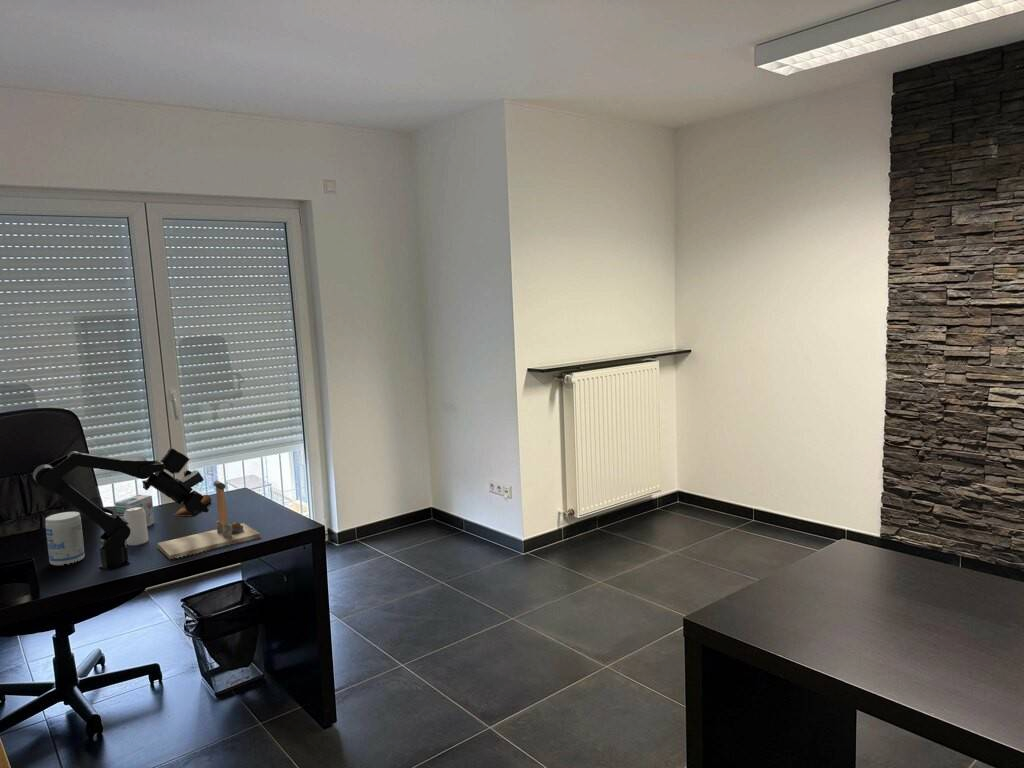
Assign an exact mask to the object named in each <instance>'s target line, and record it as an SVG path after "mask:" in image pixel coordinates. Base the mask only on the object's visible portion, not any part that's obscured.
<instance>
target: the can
mask: <svg viewBox="0 0 1024 768" xmlns="http://www.w3.org/2000/svg"><path fill="white" fill-rule="evenodd" d="M124 519H125V520H126V521H127V522H128V523H129V524H127V526H128V527H129V528H130V535H129V537H128V538H127V539H126V540H125V541H126V544H127V545H128V546H129V547H134V546H135V547H136V546H141V545H144V544H146V543H147V542H148V541H149V532H148V531H149V530H148V527H147V522H146V513H145V510H144V508H143V506H133V507H128V508H126V509H125V512H124Z"/></svg>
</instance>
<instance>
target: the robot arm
mask: <svg viewBox="0 0 1024 768" xmlns="http://www.w3.org/2000/svg"><path fill="white" fill-rule="evenodd" d="M189 461H190V458H189V457H188V456H187V455H185V454H183V453H182V452H179V451H178V450H176V449H175V448H173V447H170V448H169V449H168V451H167V452H166V454H165V455H164V456H163V457H162V458H161V459H160V460H157V459H156V460H155V459H154V460H148V459H146V458H144V457H127V458H117V457H111V456H103V455H97V454H90V453H84V452H79V451H74V450H73V451H70V452H69V453H68V454H66V455H64V456H62V457H60V458H56V459H55V460H53V461H51V462H49V463H48V464H40V465H39V466H37V467H36V468H35V469H34V470H33V472H32V473H33V474H32V477H33V479H34V481H35V482H36V484H37V485H38V486H39V487H40V488H43V489H45V490H47V491H49V492H51V493H54V494H56V495H58V496H60V497H62V498H63V499H64V500H65V501H66V502H68V503H70V504H71V505H72V506H73V507H74V508H75V509H78V510H79V511H80V512H81V513H83V514H84V515H86V517H88V518H90V519H91V520H92V521H93V522H95V524H97V525H98V526H99V528H100V529H101V530H103V533H102V535H100V536H99V538H98V542H99V543H100V545H101V546H102V547H100V548H99V554H100V555H99V557H100V564H98V568H101V569H104V570H108V571H111V570H115V569H119V568H120V567H123V566H127V565H129V564H131V561H129V553H128V552H129V551H128V547H126V541H127V540H126V539H127V538H128V537H129V535H130V528H129V527H128V526H127V524H129V523H128V522H127V521H126V520H125V519H123V518H121V517H119V516H118V515H117V514H116V511H113V512H112V514H109V513H107V512H105V511H104V510H102V509H101V508H100V507H99V506H98V505H96V504H95V503H94V502H92V501H91V500H89V499H88V498H87V497H86V496H85V495H83V494H82V493H81V492H79V491H78V490H77V489H75V488H74V487H73V486H71V485H70V484H69V483H68V481H66V480H65V479H64V476H66V475H68V473H70V472H71V471H72V470H74V469H75V468H77V467H83V468H89V469H98V470H105V471H109V472H110V471H112V472H119V473H122V474H126V475H127V476H130V477H134V478H137V479H141V480H142V481H141V482H142V488H143V489H144V490H145V491H148V490H149V489H150V488H151V487H152V488H153V489H156V490H157V491H159V492H160V493H161V494H163V495H165V496H166V497H168V498H169V499H170V500H172V501H173V502H175V503H176V504H179V505H181V507H183V508H184V509H186V510H187V511H189V512H190V513H191V512H192V511H193V510H194V511H198V512H201V513H208V512H209V510H210V509H209V508H208V507H207V505H204V504H203V503H202V502H201V500H202V499H203V497H204V496H203V495H204V494H203V495H202V493H200V492H198V491H197V490H196V491H195V490H194V489H193V487H195V486H196V485H198V484H200V483H202V482H203V481H204V480H205V479H204V477H203V476H202V474H201V472H199V471H198V470H196V469H195V470H194V469H193V470H192V471H191V470H189V469H186V470H184V471H183V476H182V478H181V479H178V478H175V477H173V476H172V475H174V474H179V473H180V472H181V471H182V470H183V468H184V467H185V466H186V465H187V463H189ZM165 470H166V471H168V472H169V473H170V474H169V473H167V472H166V471H165ZM171 474H172V475H171Z"/></svg>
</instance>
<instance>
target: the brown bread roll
mask: <svg viewBox="0 0 1024 768" xmlns="http://www.w3.org/2000/svg"><path fill="white" fill-rule="evenodd" d="M203 496H204V497H203V499H202V500H201V502H202V503H203V504H204V505H205V506H207V505H208V504H210V503H211V502H212V498H211V496H210V495H208V494H203ZM209 502H210V503H209ZM198 512H199V511H194V510H193V511H192V512H191V513H190V512H189V511H187V510H186V509H184V508H183V506H181V508H180V509H178V510H177V511H176V512H175V513H174V514H173V516H174V515H196V514H197V513H198Z"/></svg>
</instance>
